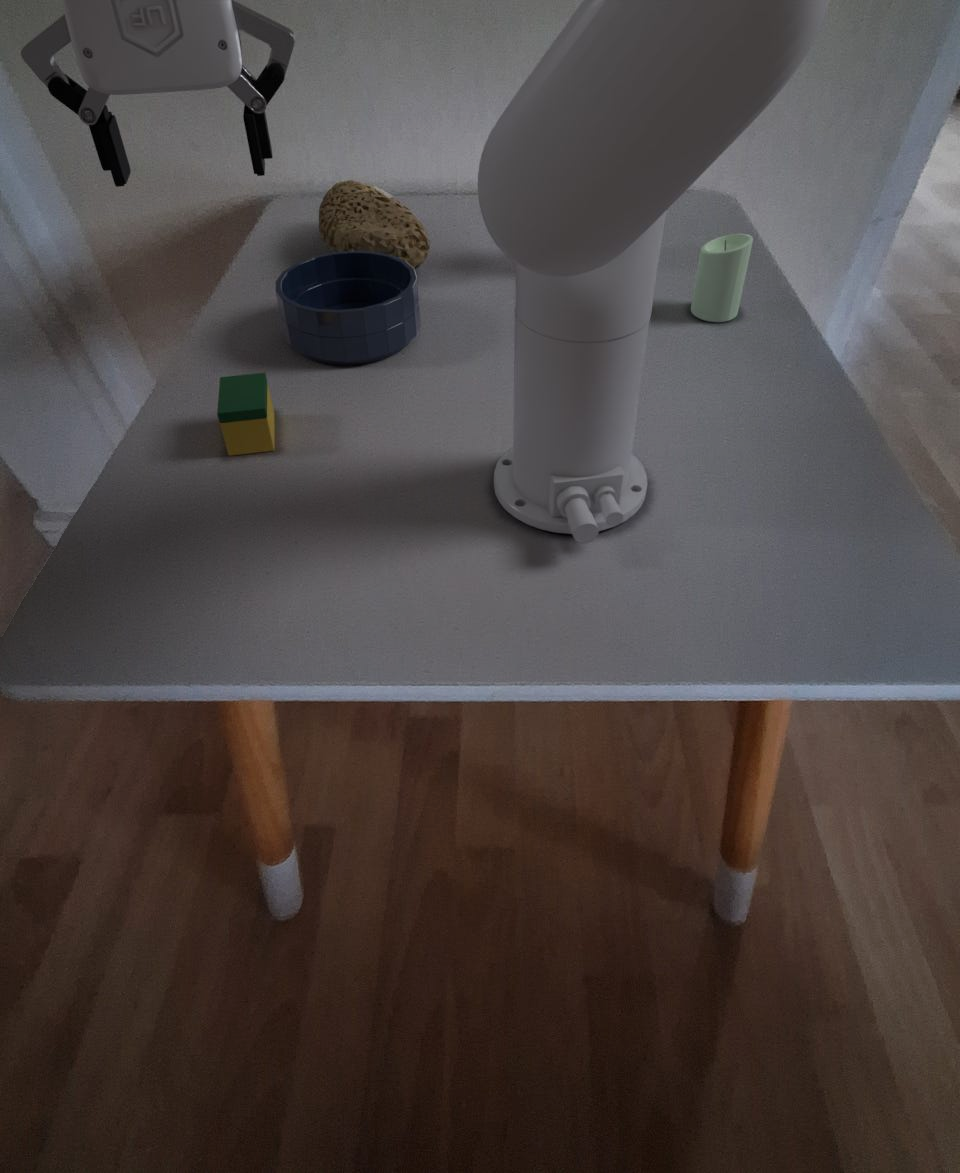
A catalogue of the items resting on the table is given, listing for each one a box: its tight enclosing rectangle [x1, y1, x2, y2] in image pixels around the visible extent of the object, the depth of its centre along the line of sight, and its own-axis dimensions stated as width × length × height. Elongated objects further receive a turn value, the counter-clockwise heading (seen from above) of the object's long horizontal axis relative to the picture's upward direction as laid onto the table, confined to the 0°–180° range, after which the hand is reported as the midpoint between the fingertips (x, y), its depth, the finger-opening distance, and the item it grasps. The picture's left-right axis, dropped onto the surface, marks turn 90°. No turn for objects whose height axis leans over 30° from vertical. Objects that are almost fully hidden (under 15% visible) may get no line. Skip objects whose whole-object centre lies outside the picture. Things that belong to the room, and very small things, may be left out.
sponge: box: [318, 179, 431, 270], centre depth 102 cm, size 13×8×20 cm
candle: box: [690, 233, 754, 323], centre depth 89 cm, size 5×5×8 cm
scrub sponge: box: [216, 372, 276, 457], centre depth 75 cm, size 6×4×4 cm, turn 10°
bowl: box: [275, 250, 421, 366], centre depth 87 cm, size 14×14×6 cm
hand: (192, 174), depth 61 cm, fingers open, 9 cm apart
